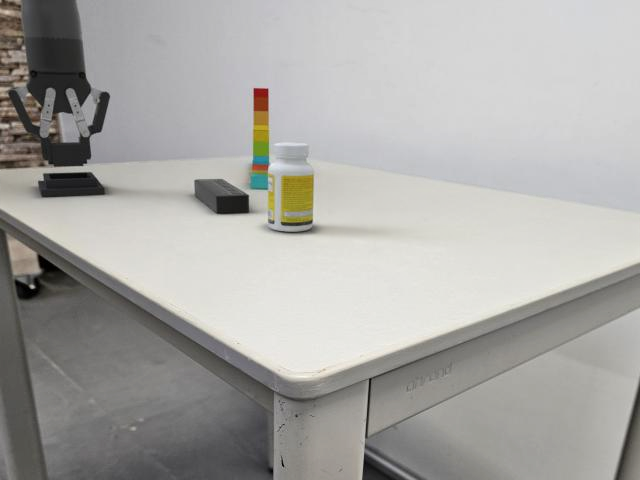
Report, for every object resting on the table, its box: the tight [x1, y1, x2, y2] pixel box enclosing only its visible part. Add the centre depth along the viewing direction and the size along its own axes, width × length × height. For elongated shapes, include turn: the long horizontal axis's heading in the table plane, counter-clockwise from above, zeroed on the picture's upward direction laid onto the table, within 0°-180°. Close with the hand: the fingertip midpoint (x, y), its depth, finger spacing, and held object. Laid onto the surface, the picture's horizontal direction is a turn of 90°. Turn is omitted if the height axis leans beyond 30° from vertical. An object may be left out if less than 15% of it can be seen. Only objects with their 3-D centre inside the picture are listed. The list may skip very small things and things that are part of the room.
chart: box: [248, 87, 270, 190], centre depth 113 cm, size 30×3×15 cm, turn 5°
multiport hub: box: [193, 178, 250, 215], centre depth 89 cm, size 4×14×2 cm, turn 23°
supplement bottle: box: [267, 141, 315, 233], centre depth 75 cm, size 5×5×10 cm
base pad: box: [37, 171, 106, 198], centre depth 94 cm, size 9×9×2 cm
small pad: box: [51, 141, 85, 168], centre depth 93 cm, size 4×4×3 cm
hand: (67, 162), depth 93 cm, fingers closed on small pad, 4 cm apart
